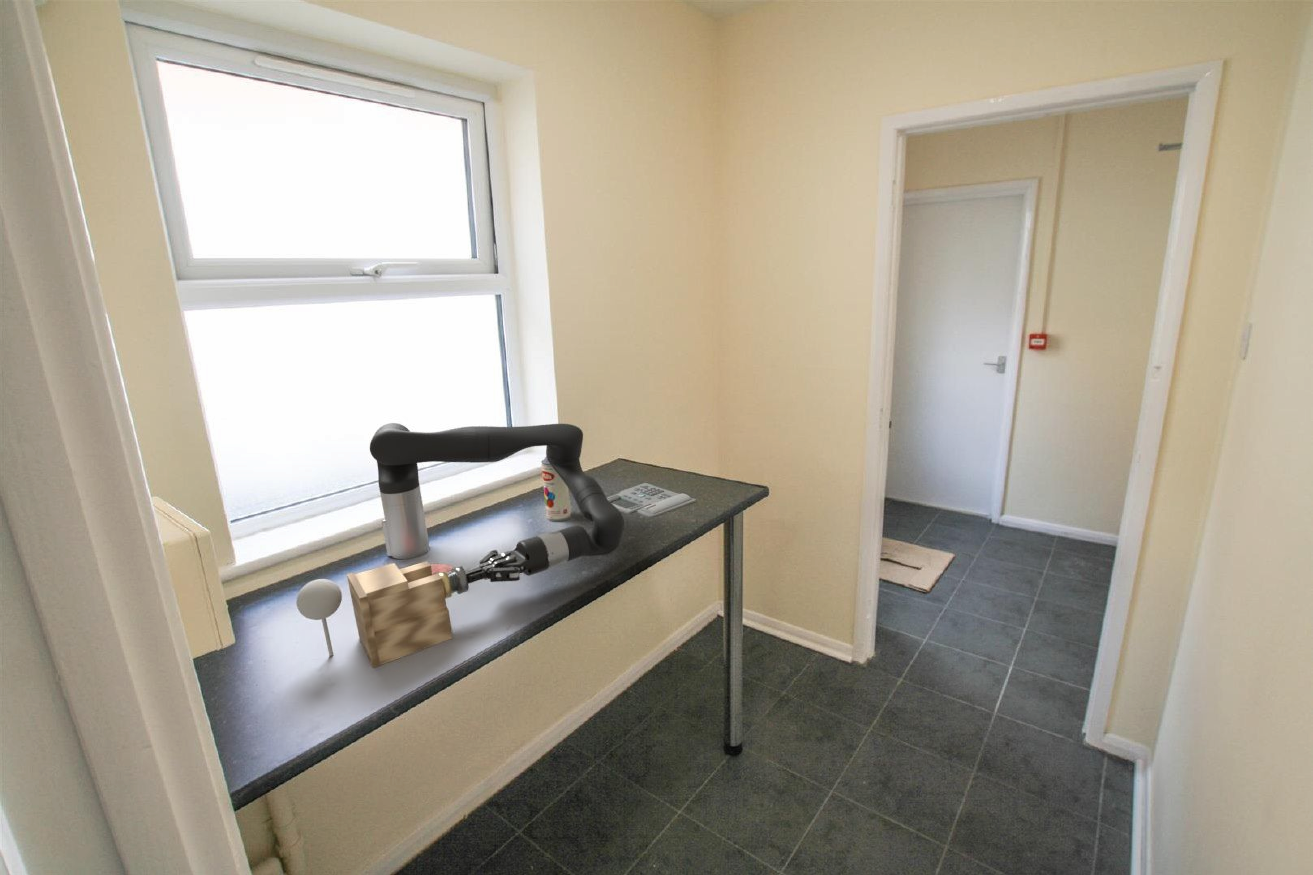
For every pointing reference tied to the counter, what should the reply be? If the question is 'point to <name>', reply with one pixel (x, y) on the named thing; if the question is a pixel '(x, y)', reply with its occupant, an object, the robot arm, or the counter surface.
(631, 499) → the office telephone
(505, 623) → the counter surface
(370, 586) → the bearing block
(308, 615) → the lollipop
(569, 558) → the robot arm
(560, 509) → the aerosol can
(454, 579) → the shaft
